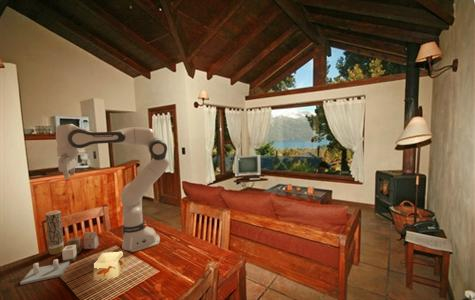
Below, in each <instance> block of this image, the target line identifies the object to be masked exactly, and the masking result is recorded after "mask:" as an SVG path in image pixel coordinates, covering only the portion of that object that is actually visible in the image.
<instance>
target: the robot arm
mask: <svg viewBox="0 0 475 300" xmlns="http://www.w3.org/2000/svg"><path fill="white" fill-rule="evenodd" d="M55 140H56V143H57V145H56V152H57V154H56V155H57V157H58V161H57V162H58V167H57V168H58V172H59V173H62V174H63V177H64V179H65V180H68V179H69V178H70V176H71V177H72V176H75V170H76V169H75V168H76V167H77V166H78V165H79V164H78V163H79V160H78V159H79V157H78V156H79V150H78V149H83V148H86V147H90V146H92V145H98V144H99V145H100V144H117V145H118V144H119V145H125V146H142V145H143V146H146V147H148V148H147V149H148V152H149V154H150V155H151V157H152V158H151V160H150V162H148V163H147V165H146V166H145V167H143V169H142V170H140V172H139V173H138V174H137V175H136V176H135V177H134V179H132V181H131V182H129V183H126V184H125V185H124V187H123V189H122V190H121V193H120V196H119V197H120V202H121V203H122V223H123V224H122V234H123V239H122V245H121V248H122V250H125V251H129V252H131V253H134V252H138V251H141V250H146V249H148V248H150V247H154V246H157V245H159V243H160V242H161V238H160V235H159V234H158V233H156V231H155V229H154V228H152V227H150V226H148V224H147V222H146V220H143V219H144V218H143V197H144V196H145V194H147V192H148V191H149V190H150V188H151V187H152V186H153V185H154V183H156V181H158V179H159V178H161V176H162V175H163V174H164V173H165V172H166V170H167V168H168V167H169V166H170V161H169V159H168V158H167V157H166V156H167V151H168V146H167V143H166V142H165V141H163V140H162V139H160V138H157V137H156V136H155V131H154V130H153V129H152V128H149V127H141V126H139V127H138V126H135V127H133V126H132V127H124V128H120V129H117V130H113V131H101V132H100V131H95V132H94V131H91V130H90V129H86V128H83V127H82V128H81V127H80V126H77V125H75V124H73V123H62V124H58V125H57V126H56V129H55Z"/></svg>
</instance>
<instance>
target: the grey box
mask: <svg viewBox="0 0 475 300" xmlns="http://www.w3.org/2000/svg"><path fill="white" fill-rule="evenodd" d="M83 233H84V234H83V237H82V239H83V240H82V243H83V250H93V249H94V250H95V249H97V248H98V246H99V236H98V234H97V232H96V231H87V232H86V231H85V232H83Z"/></svg>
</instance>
